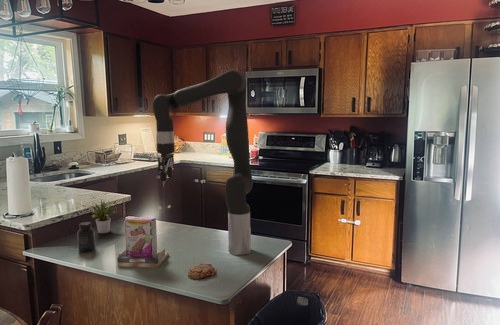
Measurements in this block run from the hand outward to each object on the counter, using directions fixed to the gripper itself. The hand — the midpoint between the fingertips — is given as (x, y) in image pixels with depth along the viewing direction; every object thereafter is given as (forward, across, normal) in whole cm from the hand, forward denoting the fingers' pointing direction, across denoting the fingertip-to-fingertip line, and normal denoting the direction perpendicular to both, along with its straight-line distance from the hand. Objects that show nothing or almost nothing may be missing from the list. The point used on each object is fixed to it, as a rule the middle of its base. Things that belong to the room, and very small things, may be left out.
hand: (166, 179), depth 165 cm
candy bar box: (+29, +19, -5) cm, 35 cm away
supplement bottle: (+30, +8, -34) cm, 46 cm away
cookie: (+31, +27, +21) cm, 46 cm away
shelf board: (+30, +17, -5) cm, 35 cm away
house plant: (+30, -16, -39) cm, 52 cm away
